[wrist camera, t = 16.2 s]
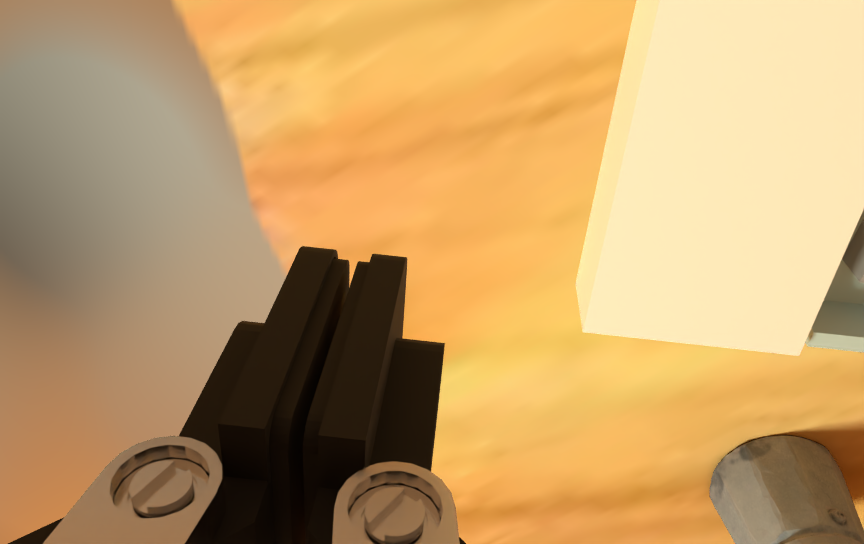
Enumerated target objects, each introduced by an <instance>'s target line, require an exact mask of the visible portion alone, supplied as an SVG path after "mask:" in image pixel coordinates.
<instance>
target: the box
mask: <svg viewBox="0 0 864 544" xmlns="http://www.w3.org/2000/svg"><path fill="white" fill-rule="evenodd" d="M863 219H864V210H863V212H862V214H861V216H860V219H859V221H858V223H857V226H856V228H855V230H854V232H853V235H852V237H851V239H850V241H849V244H850V242H851V241H852V239H853V237H854V235H855V233H856V232H857V230H858V228H859V226H860V224H861V223H862V221H863ZM849 244H848V246H849ZM848 246H847V248H848ZM847 248H846V250H847ZM805 343H806V345H807V346H810V347H819V348H828V349H837V350H846V351H856V352H864V283H862V282H859V281H858V280H857V278H856V277H855V276H854V274H853V273H852V272H851V270H850V269H849V268H848V266H847V265H846V264H845V262H844V261H843V260H841V262H840V264H839V266H838V269H837V271H836V273H835V276H834V278H833V280H832V282H831V285H830V287H829V289H828V291H827V294H826V296H825V298H824V301H823V303H822V305H821V307H820V310H819V312H818V314H817V316H816V319H815V321H814V323H813V326H812V328H811V330H810V332H809V335H808V337H807V339H806V341H805Z"/></svg>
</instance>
